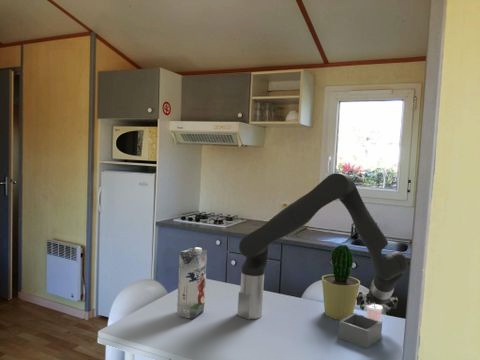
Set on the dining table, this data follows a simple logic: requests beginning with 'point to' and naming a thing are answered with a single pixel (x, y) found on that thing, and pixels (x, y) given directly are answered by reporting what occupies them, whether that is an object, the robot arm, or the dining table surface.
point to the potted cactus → (340, 285)
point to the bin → (360, 330)
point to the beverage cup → (374, 311)
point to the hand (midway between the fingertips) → (373, 309)
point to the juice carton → (191, 282)
